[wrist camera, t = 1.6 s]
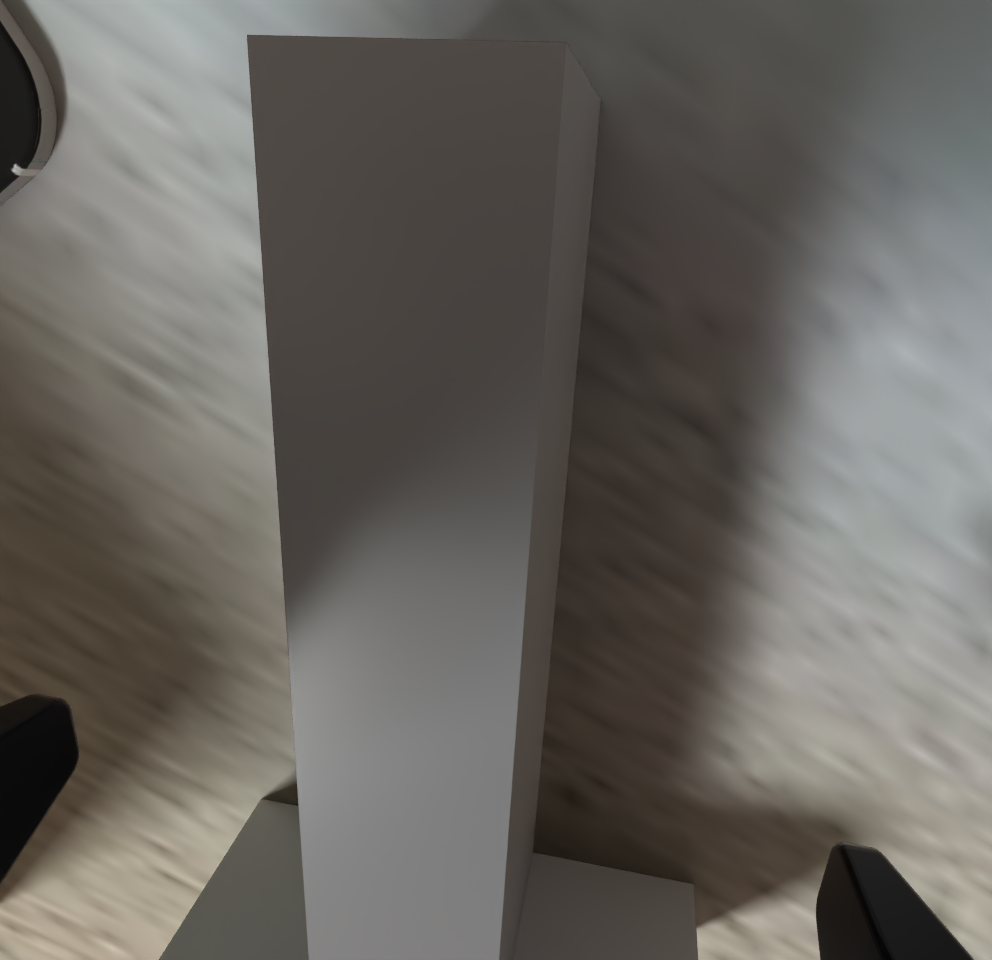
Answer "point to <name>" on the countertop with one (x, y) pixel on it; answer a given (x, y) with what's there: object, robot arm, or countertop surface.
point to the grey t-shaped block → (422, 508)
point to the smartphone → (22, 109)
